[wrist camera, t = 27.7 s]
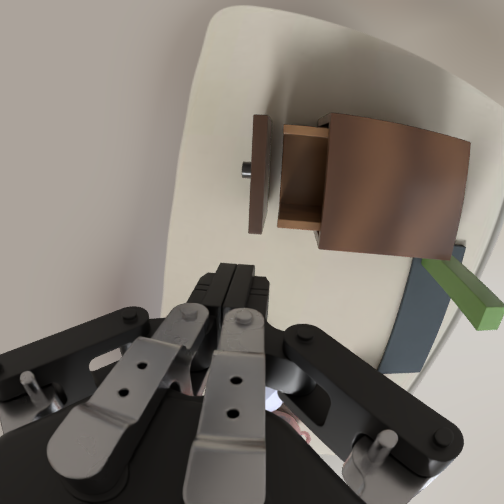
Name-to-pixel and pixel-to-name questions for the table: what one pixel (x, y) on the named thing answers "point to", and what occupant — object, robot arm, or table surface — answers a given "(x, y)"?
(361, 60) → the table surface
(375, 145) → the cabinet
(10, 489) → the robot arm
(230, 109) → the table surface
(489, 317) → the long green square beam
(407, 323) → the mat
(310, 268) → the table surface
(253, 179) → the drawer
